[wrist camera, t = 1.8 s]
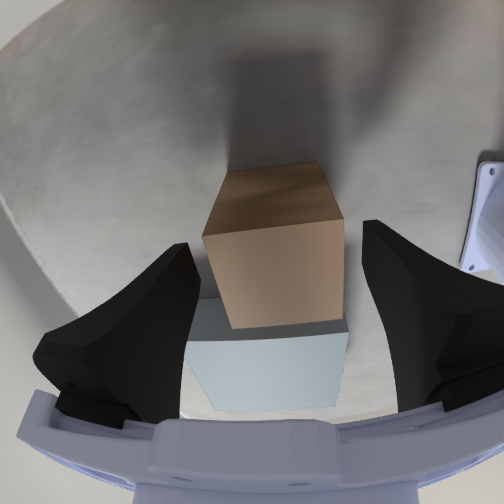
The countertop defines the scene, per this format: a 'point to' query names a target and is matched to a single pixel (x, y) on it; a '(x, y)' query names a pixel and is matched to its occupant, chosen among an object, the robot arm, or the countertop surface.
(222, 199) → the walnut block
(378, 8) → the countertop surface
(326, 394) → the slate block
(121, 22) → the countertop surface
